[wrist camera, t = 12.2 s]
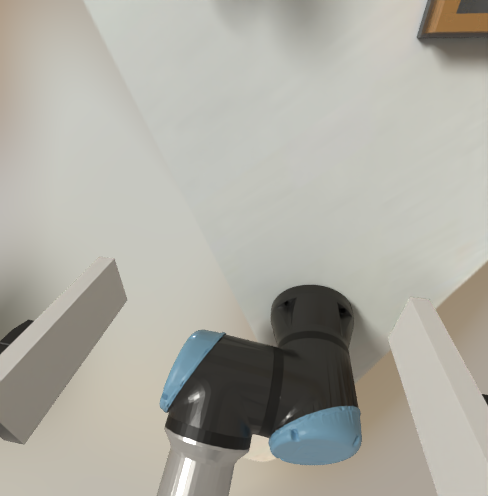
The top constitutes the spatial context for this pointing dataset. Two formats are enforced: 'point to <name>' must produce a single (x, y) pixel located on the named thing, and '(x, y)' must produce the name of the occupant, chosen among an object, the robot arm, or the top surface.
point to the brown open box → (454, 19)
